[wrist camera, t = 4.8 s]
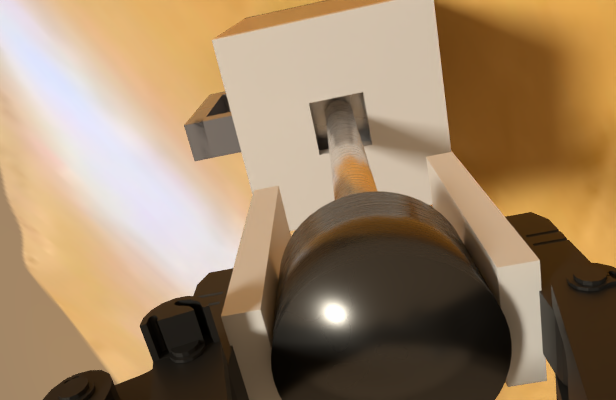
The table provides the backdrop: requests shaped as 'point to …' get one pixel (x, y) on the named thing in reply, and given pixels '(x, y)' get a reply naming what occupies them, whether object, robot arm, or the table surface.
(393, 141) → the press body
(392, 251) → the plunger
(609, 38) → the table surface
